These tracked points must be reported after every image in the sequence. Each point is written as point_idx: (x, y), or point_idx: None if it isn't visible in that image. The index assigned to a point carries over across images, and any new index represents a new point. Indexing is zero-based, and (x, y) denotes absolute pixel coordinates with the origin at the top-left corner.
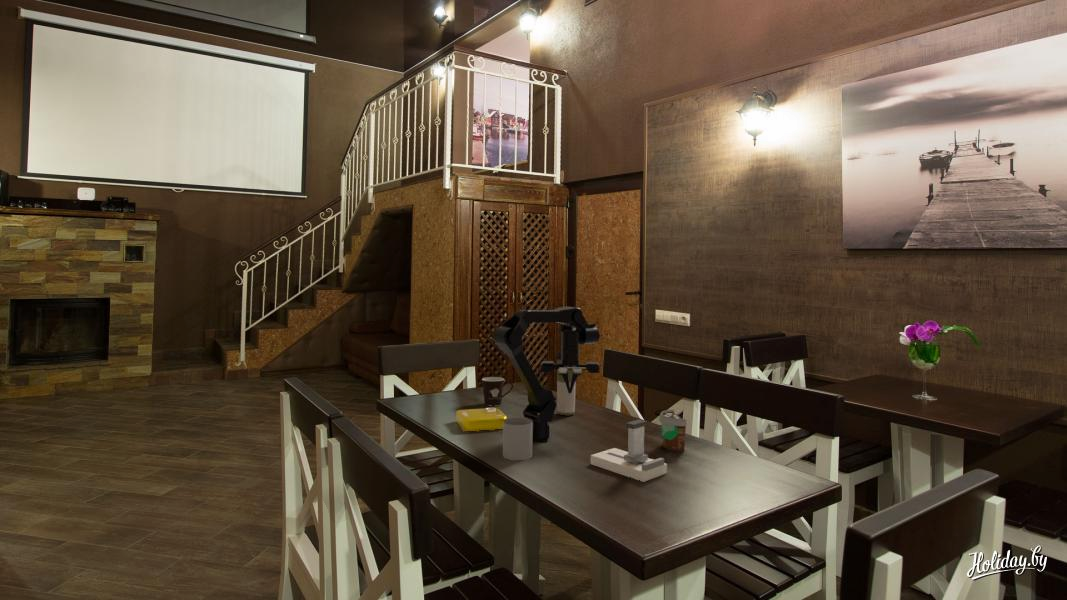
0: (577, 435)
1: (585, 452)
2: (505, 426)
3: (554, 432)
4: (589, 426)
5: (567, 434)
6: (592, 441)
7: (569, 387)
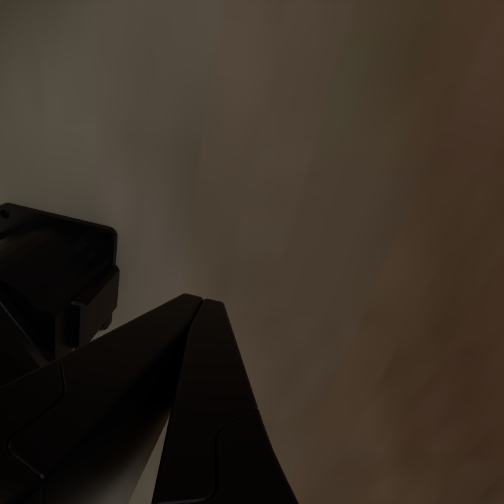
0: (299, 236)
1: None
2: None
3: (164, 148)
4: (473, 8)
5: (241, 206)
6: (349, 352)
7: (154, 442)
